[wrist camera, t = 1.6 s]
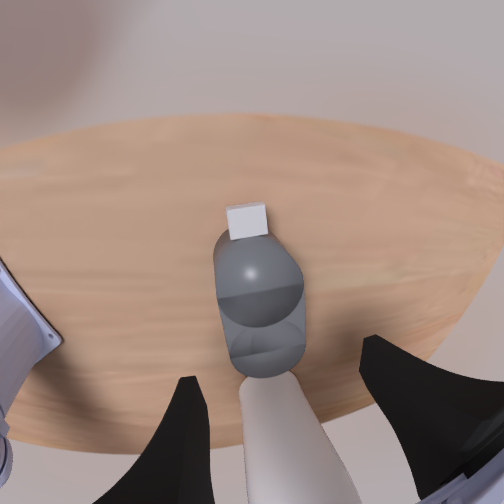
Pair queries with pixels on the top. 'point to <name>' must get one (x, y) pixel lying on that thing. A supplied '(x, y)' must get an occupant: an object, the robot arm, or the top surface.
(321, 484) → the drinking glass
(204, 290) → the top surface
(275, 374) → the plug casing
